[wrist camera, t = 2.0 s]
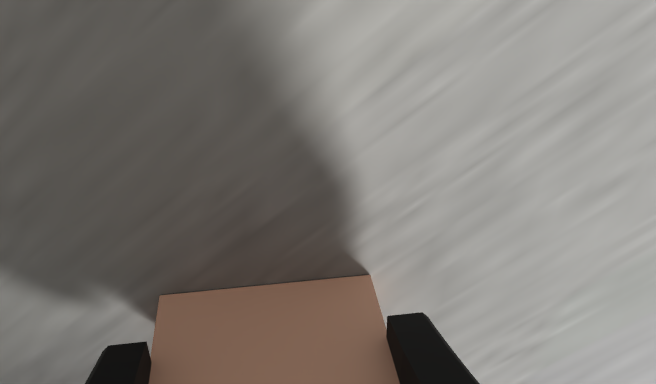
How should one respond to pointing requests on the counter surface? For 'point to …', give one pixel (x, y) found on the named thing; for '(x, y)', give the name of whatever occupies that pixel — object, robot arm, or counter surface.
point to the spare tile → (273, 335)
